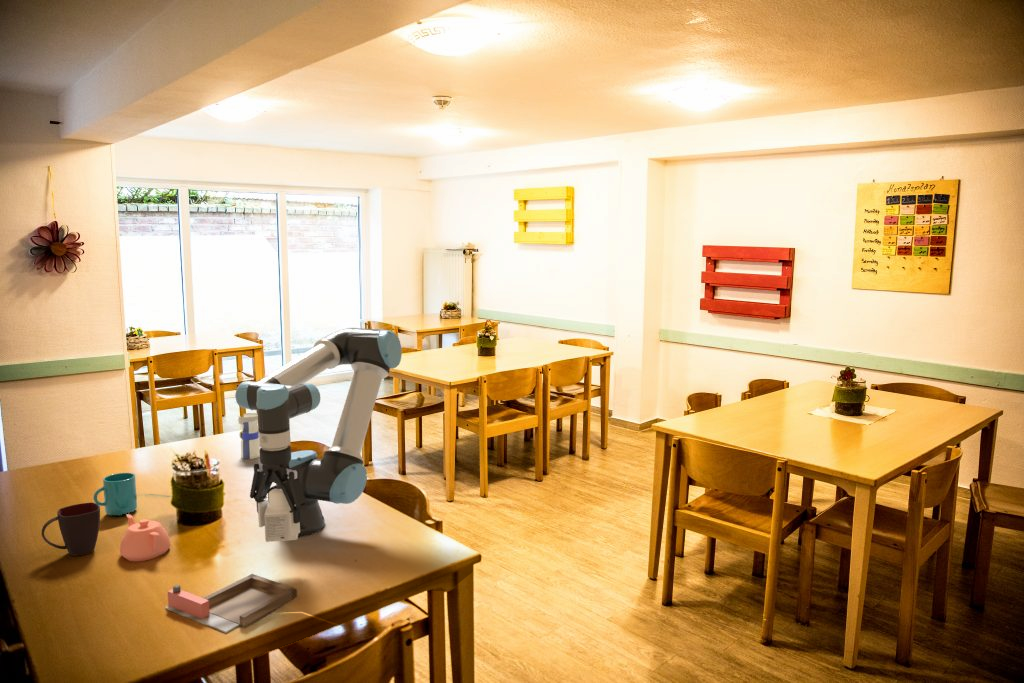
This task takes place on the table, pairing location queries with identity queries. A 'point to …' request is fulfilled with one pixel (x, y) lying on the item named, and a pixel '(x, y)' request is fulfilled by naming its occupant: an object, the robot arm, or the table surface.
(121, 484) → the cup
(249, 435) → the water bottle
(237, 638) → the table surface
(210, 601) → the brown tray
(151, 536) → the teapot
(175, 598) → the bar
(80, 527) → the mug
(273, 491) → the container
